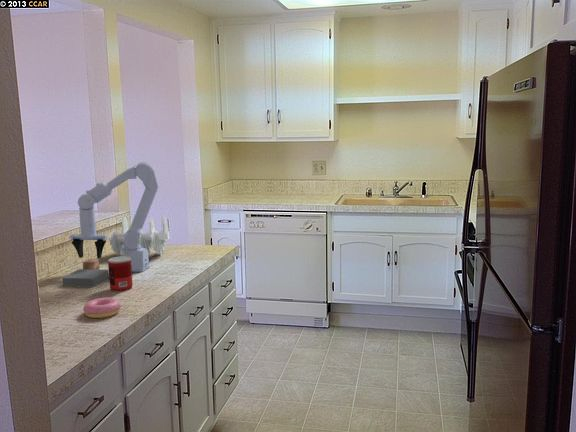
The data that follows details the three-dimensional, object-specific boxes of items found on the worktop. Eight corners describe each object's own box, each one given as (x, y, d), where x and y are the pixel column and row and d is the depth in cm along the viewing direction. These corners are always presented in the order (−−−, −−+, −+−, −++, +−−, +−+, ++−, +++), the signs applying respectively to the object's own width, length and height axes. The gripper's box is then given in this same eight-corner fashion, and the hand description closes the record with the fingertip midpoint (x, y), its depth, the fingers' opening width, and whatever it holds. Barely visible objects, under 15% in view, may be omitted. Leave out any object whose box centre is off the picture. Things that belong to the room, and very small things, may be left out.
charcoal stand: (108, 277, 200) (108, 269, 200) (93, 286, 189) (93, 278, 188) (79, 276, 202) (78, 269, 201) (62, 285, 190) (62, 278, 189)
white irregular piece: (119, 261, 240) (172, 258, 241) (106, 253, 223) (164, 250, 224) (120, 223, 245) (172, 220, 246) (107, 213, 228) (164, 209, 229)
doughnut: (127, 313, 162) (126, 300, 161) (94, 322, 154) (93, 309, 153) (110, 305, 169) (109, 293, 168) (77, 314, 161) (76, 301, 160)
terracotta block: (99, 271, 209) (98, 259, 208) (94, 274, 205) (93, 262, 204) (89, 271, 210) (88, 259, 209) (83, 274, 205) (82, 262, 205)
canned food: (137, 286, 189) (135, 256, 187) (123, 292, 181) (121, 262, 180) (119, 284, 191) (117, 255, 189) (105, 290, 184) (103, 260, 182)
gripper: (65, 225, 201) (67, 259, 203) (100, 226, 199) (102, 260, 202) (74, 222, 208) (76, 255, 210) (108, 223, 206) (111, 256, 208)
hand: (90, 257), depth 206 cm, fingers open, 7 cm apart
